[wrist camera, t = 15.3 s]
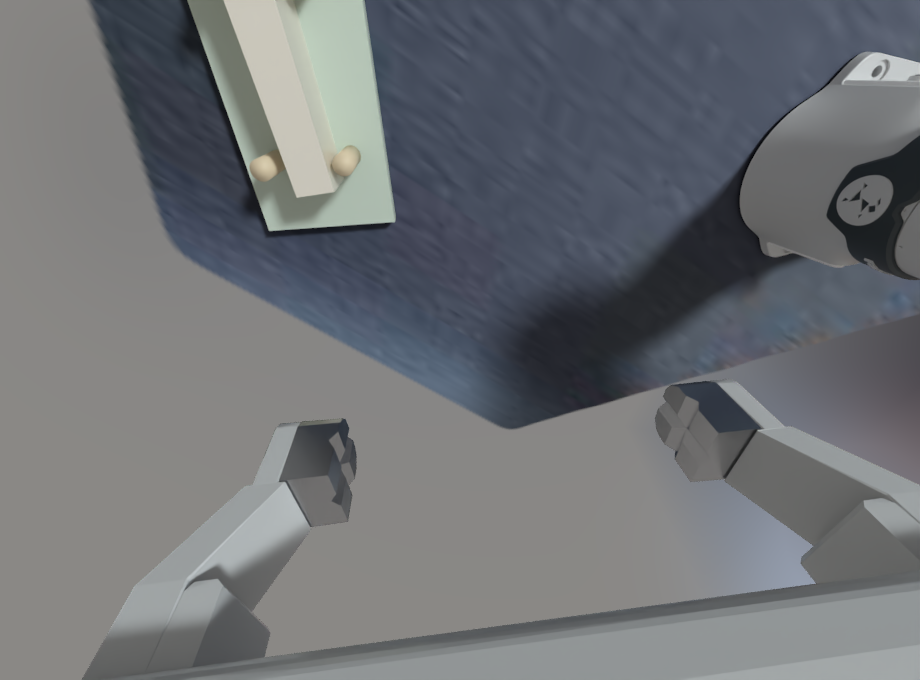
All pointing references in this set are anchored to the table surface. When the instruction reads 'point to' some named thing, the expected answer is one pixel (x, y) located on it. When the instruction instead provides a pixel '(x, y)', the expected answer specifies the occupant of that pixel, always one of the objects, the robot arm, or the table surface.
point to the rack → (346, 104)
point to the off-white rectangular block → (287, 91)
